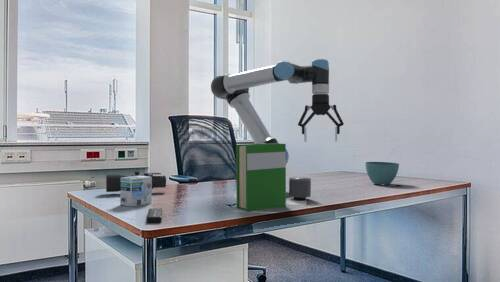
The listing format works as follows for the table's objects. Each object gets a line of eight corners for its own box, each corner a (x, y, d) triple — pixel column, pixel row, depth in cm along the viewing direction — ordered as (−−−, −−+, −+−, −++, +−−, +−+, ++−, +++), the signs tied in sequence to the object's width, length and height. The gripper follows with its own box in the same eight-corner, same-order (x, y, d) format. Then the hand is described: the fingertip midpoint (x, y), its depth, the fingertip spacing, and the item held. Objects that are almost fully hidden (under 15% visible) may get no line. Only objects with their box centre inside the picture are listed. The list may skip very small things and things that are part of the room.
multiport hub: (146, 224, 126) (146, 217, 126) (148, 215, 140) (148, 208, 140) (161, 224, 127) (161, 216, 127) (162, 214, 141) (162, 208, 141)
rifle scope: (166, 194, 185) (167, 172, 185) (106, 196, 176) (106, 173, 176) (163, 190, 195) (163, 170, 195) (106, 192, 186) (106, 171, 186)
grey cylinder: (288, 197, 168) (289, 178, 168) (289, 193, 177) (289, 176, 177) (310, 197, 167) (311, 179, 167) (310, 194, 176) (310, 177, 176)
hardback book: (247, 211, 146) (246, 145, 145) (236, 208, 152) (236, 144, 151) (285, 206, 156) (285, 143, 155) (274, 203, 162) (273, 143, 161)
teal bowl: (403, 184, 231) (404, 163, 231) (390, 187, 218) (391, 164, 217) (373, 181, 243) (373, 161, 243) (359, 184, 230) (359, 162, 229)
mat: (275, 205, 160) (275, 204, 160) (278, 198, 176) (278, 197, 176) (306, 206, 159) (306, 205, 159) (306, 199, 175) (306, 198, 175)
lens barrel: (293, 200, 170) (293, 181, 170) (293, 198, 175) (293, 179, 175) (306, 200, 169) (306, 181, 169) (306, 198, 174) (306, 180, 174)
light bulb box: (131, 207, 152) (131, 178, 152) (119, 205, 156) (119, 177, 156) (152, 203, 161) (152, 176, 161) (140, 201, 165) (140, 175, 165)
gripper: (291, 94, 181) (292, 141, 181) (349, 92, 176) (349, 141, 176) (293, 95, 188) (293, 141, 188) (348, 94, 183) (348, 141, 183)
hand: (320, 141), depth 182 cm, fingers open, 13 cm apart
